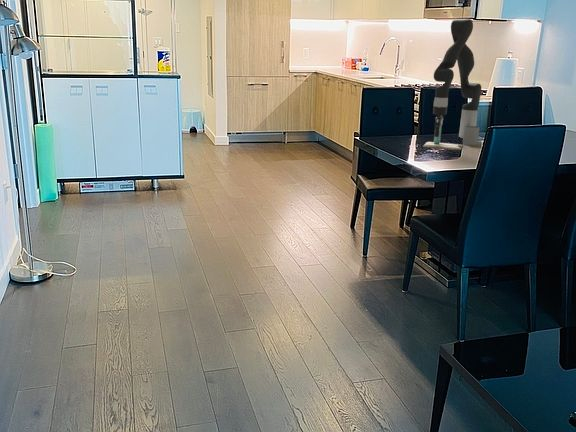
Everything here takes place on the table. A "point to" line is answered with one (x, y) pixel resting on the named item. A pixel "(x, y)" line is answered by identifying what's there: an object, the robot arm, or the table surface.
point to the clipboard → (443, 146)
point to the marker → (437, 139)
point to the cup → (471, 135)
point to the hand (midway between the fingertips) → (437, 135)
